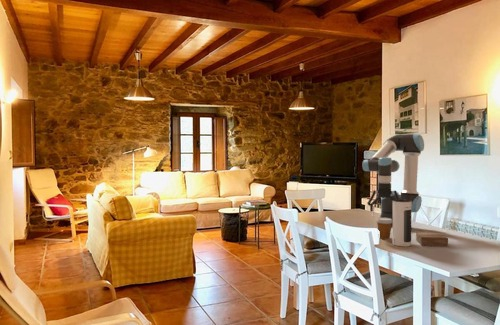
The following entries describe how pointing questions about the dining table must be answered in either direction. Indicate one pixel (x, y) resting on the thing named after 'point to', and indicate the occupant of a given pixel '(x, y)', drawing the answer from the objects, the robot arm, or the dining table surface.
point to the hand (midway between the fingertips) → (384, 217)
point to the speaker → (402, 222)
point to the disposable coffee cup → (384, 227)
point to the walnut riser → (431, 239)
